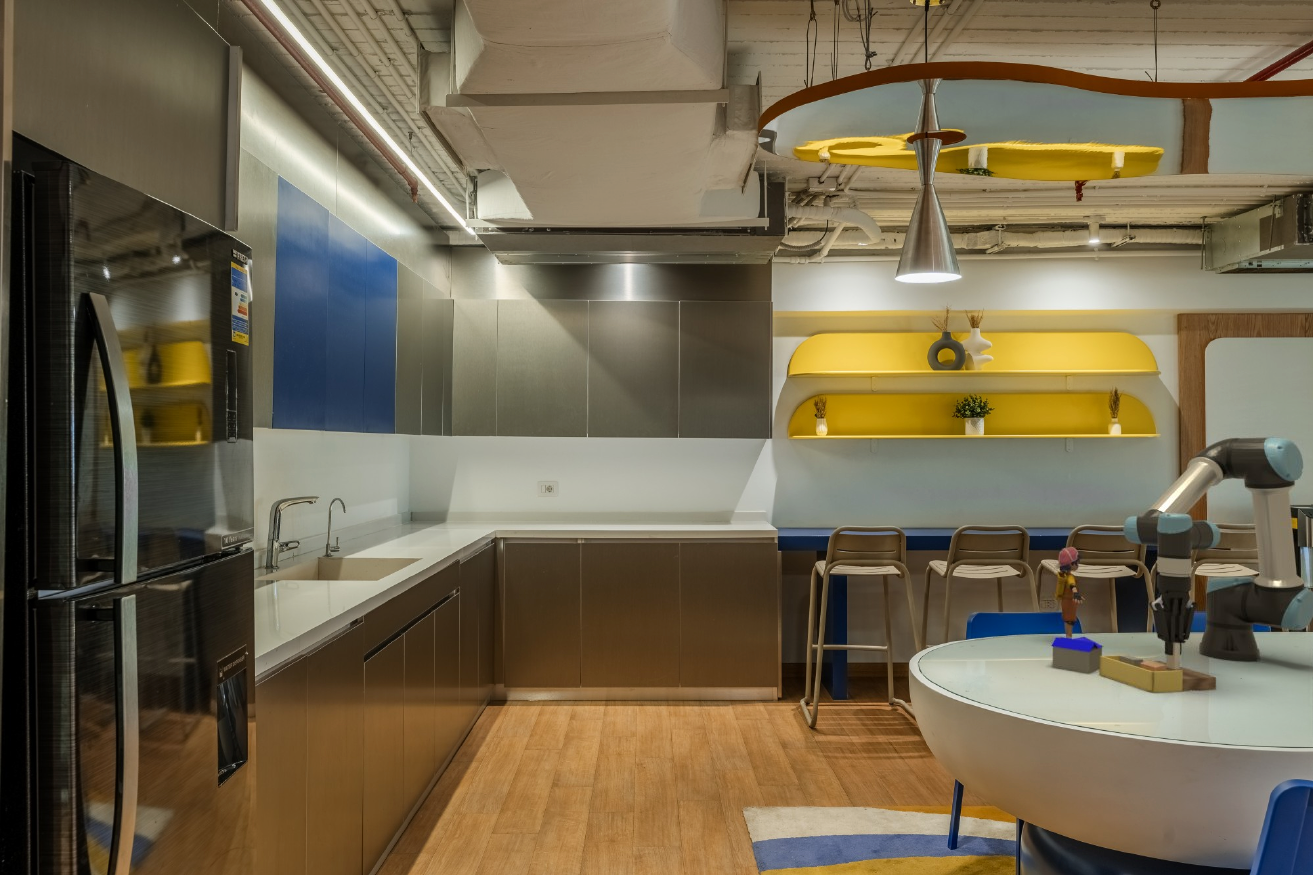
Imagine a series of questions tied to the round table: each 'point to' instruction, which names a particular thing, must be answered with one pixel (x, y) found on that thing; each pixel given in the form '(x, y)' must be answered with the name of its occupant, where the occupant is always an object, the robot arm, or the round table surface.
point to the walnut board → (1194, 679)
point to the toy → (1068, 587)
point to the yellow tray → (1140, 675)
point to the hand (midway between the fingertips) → (1172, 667)
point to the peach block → (1153, 666)
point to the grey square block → (1130, 660)
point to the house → (1076, 654)
